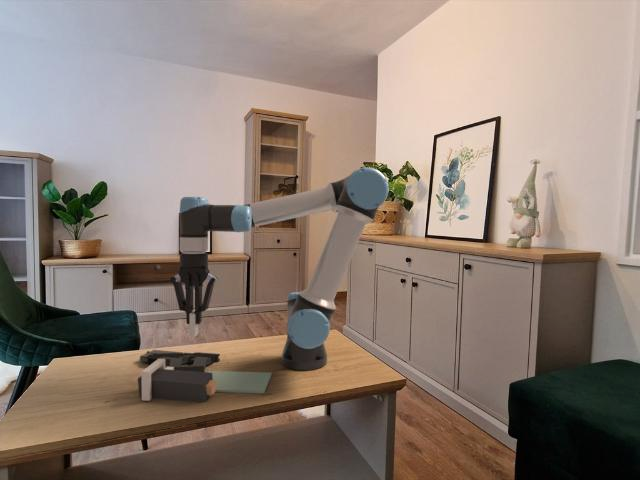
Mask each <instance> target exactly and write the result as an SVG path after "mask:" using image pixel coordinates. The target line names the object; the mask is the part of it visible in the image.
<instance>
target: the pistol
mask: <svg viewBox="0 0 640 480" xmlns="http://www.w3.org/2000/svg"><path fill="white" fill-rule="evenodd" d="M220 356H221V353H212V352H201V351H200V352H199V351H197V352H196V351H195V352H182V351H171V350H161V349H160V350H158V349H153V350H151V351H150V350H147V351H146V353H144V354H141V355H140V356H139V361H140V362H144V363H147V366H149V365H151V364H152V363H153V362H155V361H156V360H157V359H165V367H174V370H181V371H195V372H205V371H206V366H209V365H213V364H214V363H215V362H220V359H221V358H220ZM189 363H190V364H191V365H184V364H189Z"/></svg>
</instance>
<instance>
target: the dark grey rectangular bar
mask: <svg viewBox="0 0 640 480" xmlns="http://www.w3.org/2000/svg"><path fill="white" fill-rule="evenodd" d="M137 386H138V387H137V389H138V395H139V398H142V378H141V375H140V376H139V377H138V378H137ZM216 390H217V385H216V380H213V377H212V373H208V372H195V371H181V370H168V369H157V370H156V371H154V372H153V373H152V374H151V398H152V399H161V400H170V401H171V400H173V401H184V402H194V403H195V402H196V403H203V404H204V403H206V402H207V400H208V399H209V397H210V396H213V395H214V394H215V393H216V392H215V391H216Z"/></svg>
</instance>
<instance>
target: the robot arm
mask: <svg viewBox="0 0 640 480" xmlns="http://www.w3.org/2000/svg"><path fill="white" fill-rule="evenodd" d="M388 195H389V183H388V181H387V179H386V177H385V175H384V174H383V173H382V172H381V171H380V170H378V169H377V168H373V167H368V166H367V167H361V168H357V169H356V170H354V171H352V172H351V174H349V175H348V176H345V178H342V179H340V180H338V181H335V182H330V183H328V184H327V186H326V187H321V188H317V189H313V190H307V191H303V192H298V193H294V194H290V195H284V196H280V197H275V198H270V199H267V200H261V201H257V202H256V201H255V202H252V203H249V204H242V205H241V204H236V205H234V204H210V202H209V199H208V198H207V197H204V196H203V197H201V196H184V197H182V198H180V204H179V212H178V214H179V251H180V252H181V253H180V254H179V270H178V273H177V274H175V275H174V276H171V277H170V278H169V280H170V282H171V284H172V285H173V289H174V293H175V296H176V301H177V305H178V309H179V311H181V312H185V315H186V317H185V319H186V324H187V325H189V337H191V338H193V337H195V338H196V337H197V336H198V335H199V325H200V324H202V321H203V319H202V318H203V317H202V314H203V312H205V311H207V310H208V309H209V306H210V302H211V298H212V294H213V290H214V285H215V284H216V283H217V281H218V277H217V276H213V275H212V274H211V272H210V269H209V254H208V250H209V232H223V233H224V232H225V233H227V232H228V233H230V232H231V233H233V232H234V233H242V232H243V233H245V232H246V233H247V232H250V231H251V229H252V228H257V227H260V226H261V227H262V226H264V225H265V226H266V225H268V224H269V225H270V224H274V223H278V222H282V221H287V220H292V219H297V218H301V217H305V216H310V215H314V214H319V213H320V214H321V213H325V212H329V211H332V212H334V213H337V215H336V218H335V220H334V222H333V225H332V227H331V229H330V232H329V234H328V237H327V239H326V242H325V244H324V246H323V249H322V251H321V254H320V255H319V258H318V260H317V262H316V265H315V268H314V270H313V272H312V275H311V276H310V279H309V282H308V285H307V287H306V288H305V289H304V290H301V291H295V292H290V293H288V294H287V298H286V299H287V300H286V303H287V304H286V305H287V308H286V309H287V310H286V311H287V313H286V314H287V315H286V318H287V320H286V323H287V324H286V340H285V343H284V347H283V349H282V353H281V364H282V365H283V366H285V367H286V368H289V369H291V370H297V371H311V370H316V369H320V368H323V367H324V366H326V365H327V363H328V352H327V349H326V347H325V342H326V341H327V339H328V337H329V335H330V331H331V325H330V324H331V321H332V319H333V318H334V317H333V316H334V314H335V312H336V309H337V306H336V304H335V298H336V295H337V293H338V291H339V288H340V286H341V284H342V282H343V279H344V277H345V274H346V272H347V269H348V267H349V265H350V263H351V260H352V258H353V255H354V253H355V251H356V249H357V246H358V243H359V241H360V239H361V237H362V234H363V232H364V229H365V227H366V225H367V224H369V223H372V222H374V219H375V216H376V214H377V212H378V209H379V208H380V207H381V206H382V205H383V204H384V203H385V201H386V200H387V198H388ZM181 281H182V282H183V283H184V288H183V285H182V282H181ZM205 282H207V285H206V287H205V291H204V296H203V287H204V286H203V285H204V283H205ZM184 289H185V292H184Z"/></svg>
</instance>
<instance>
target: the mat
mask: <svg viewBox="0 0 640 480" xmlns="http://www.w3.org/2000/svg"><path fill="white" fill-rule="evenodd" d="M205 372H208V373H212V377H213V380H216V385H217V390H216V391H215V393H232V394H233V393H236V394H238V393H239V394H265V392H266V390H267V388H268V386H269V385H268V384H269V383H270V381H271V377H272V375H273V373H272V372H268V371H267V372H261V371H226V370H225V371H223V370H222V371H221V370H205Z"/></svg>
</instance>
